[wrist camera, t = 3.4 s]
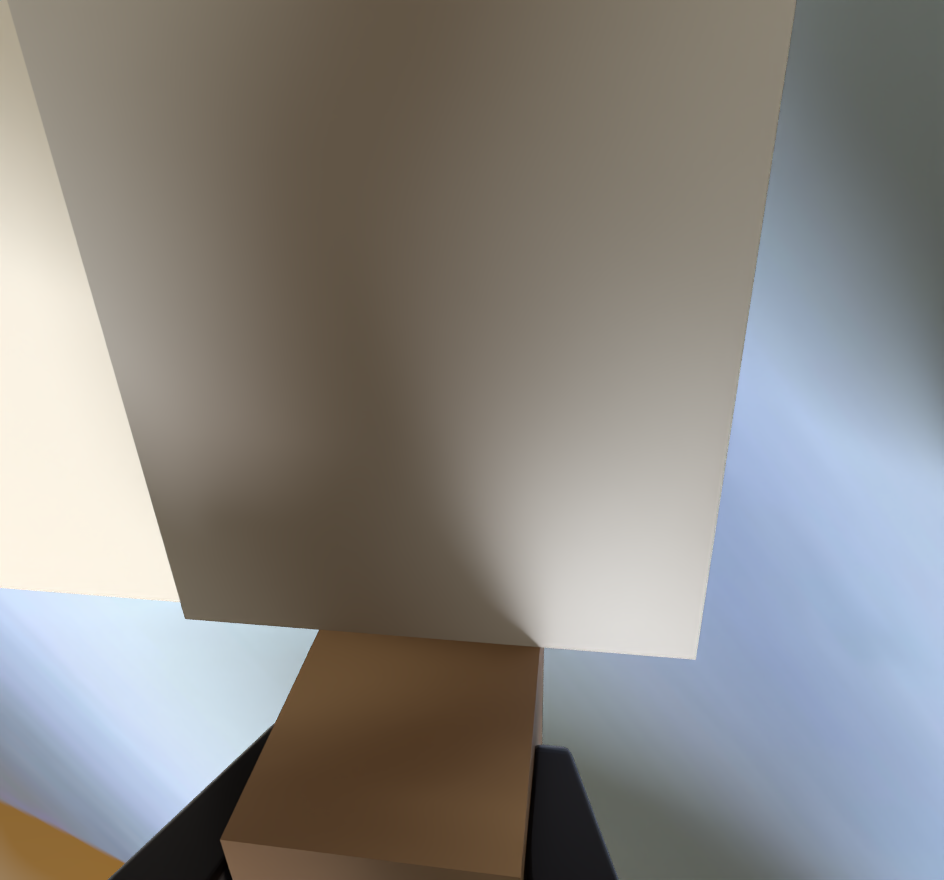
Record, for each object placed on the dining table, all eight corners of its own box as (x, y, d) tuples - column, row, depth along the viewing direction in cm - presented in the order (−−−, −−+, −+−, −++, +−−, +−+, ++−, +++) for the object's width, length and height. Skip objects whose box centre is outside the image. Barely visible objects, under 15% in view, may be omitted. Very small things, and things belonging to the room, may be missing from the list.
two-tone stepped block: (783, -119, 5) (1050, -361, 2) (636, 957, 12) (651, 1261, 9) (65, -70, 6) (-460, -194, 3) (306, 911, 13) (218, 1176, 10)
